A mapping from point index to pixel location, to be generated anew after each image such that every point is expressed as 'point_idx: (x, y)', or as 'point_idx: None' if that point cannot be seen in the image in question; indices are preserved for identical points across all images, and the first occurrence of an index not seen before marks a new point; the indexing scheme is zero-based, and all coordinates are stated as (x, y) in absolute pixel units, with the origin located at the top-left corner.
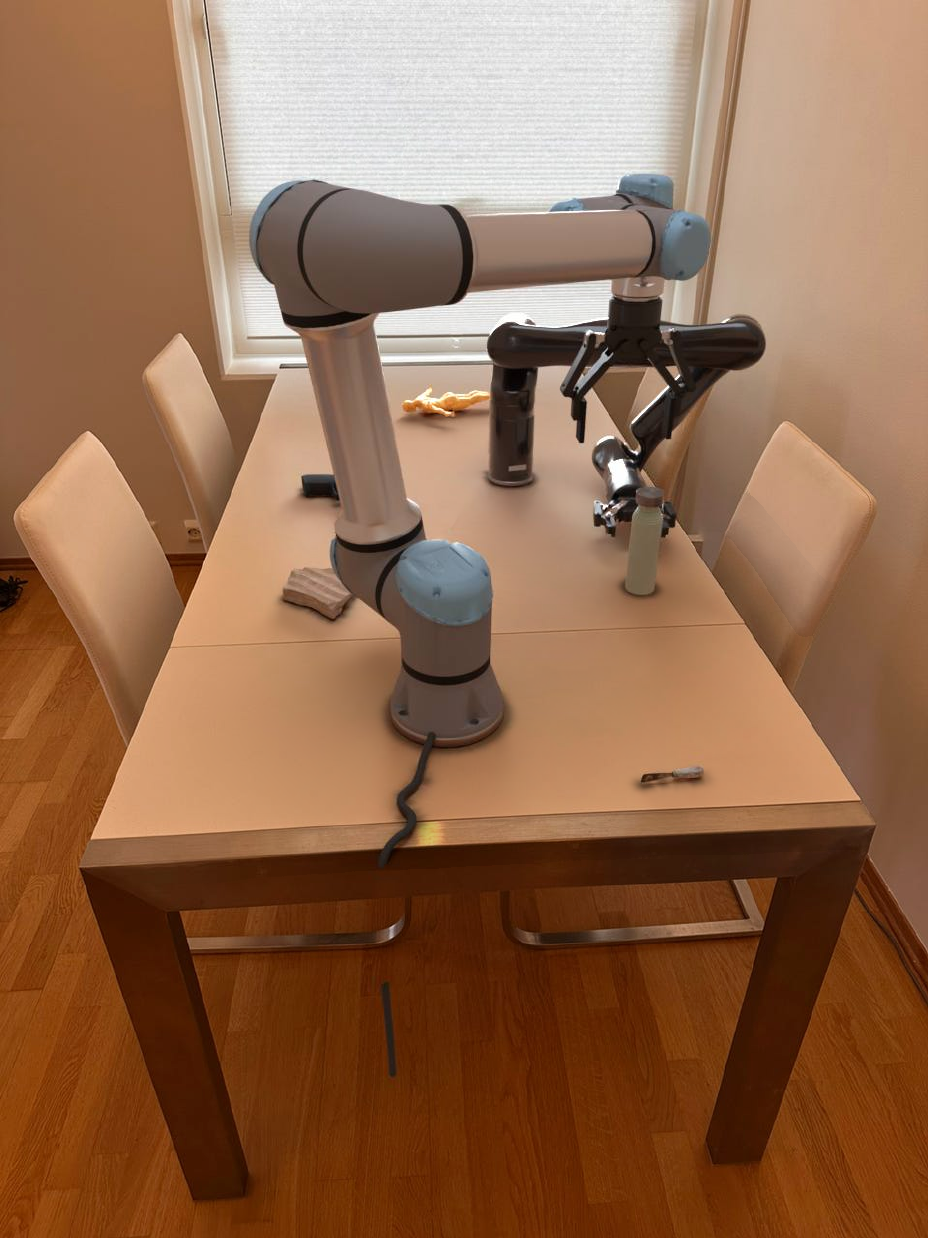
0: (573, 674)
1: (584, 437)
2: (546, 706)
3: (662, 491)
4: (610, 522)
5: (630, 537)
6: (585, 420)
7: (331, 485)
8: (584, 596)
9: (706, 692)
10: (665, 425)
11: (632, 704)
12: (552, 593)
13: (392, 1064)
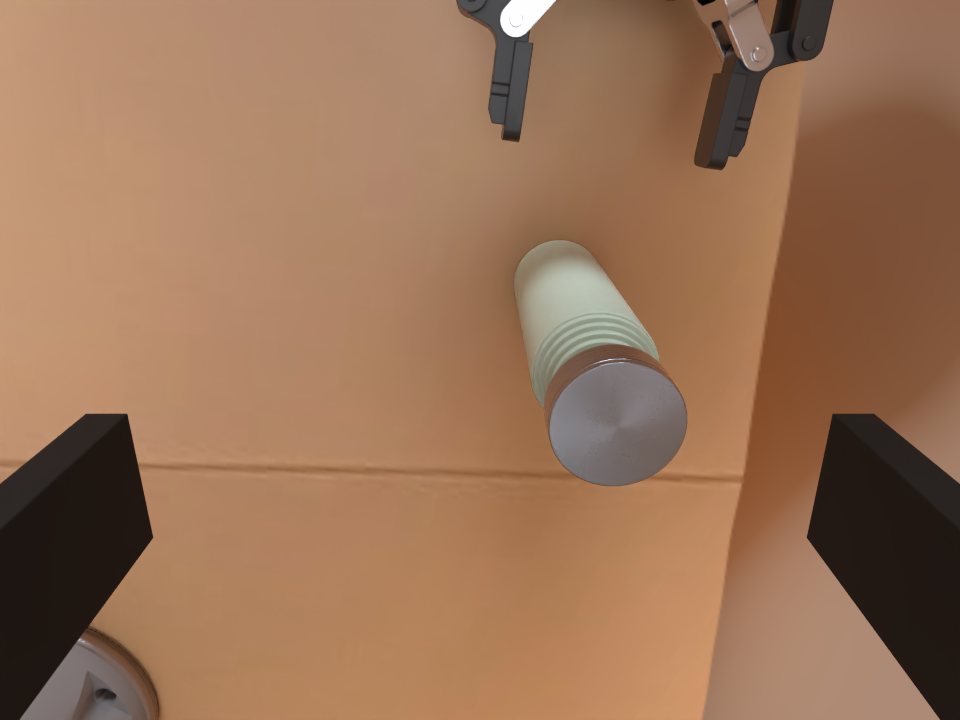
0: (307, 618)
1: (132, 564)
2: (243, 697)
3: (679, 425)
4: (509, 78)
5: (525, 337)
6: (43, 685)
7: None
8: (382, 313)
9: (564, 687)
10: (867, 547)
11: (409, 704)
12: (289, 287)
13: None
